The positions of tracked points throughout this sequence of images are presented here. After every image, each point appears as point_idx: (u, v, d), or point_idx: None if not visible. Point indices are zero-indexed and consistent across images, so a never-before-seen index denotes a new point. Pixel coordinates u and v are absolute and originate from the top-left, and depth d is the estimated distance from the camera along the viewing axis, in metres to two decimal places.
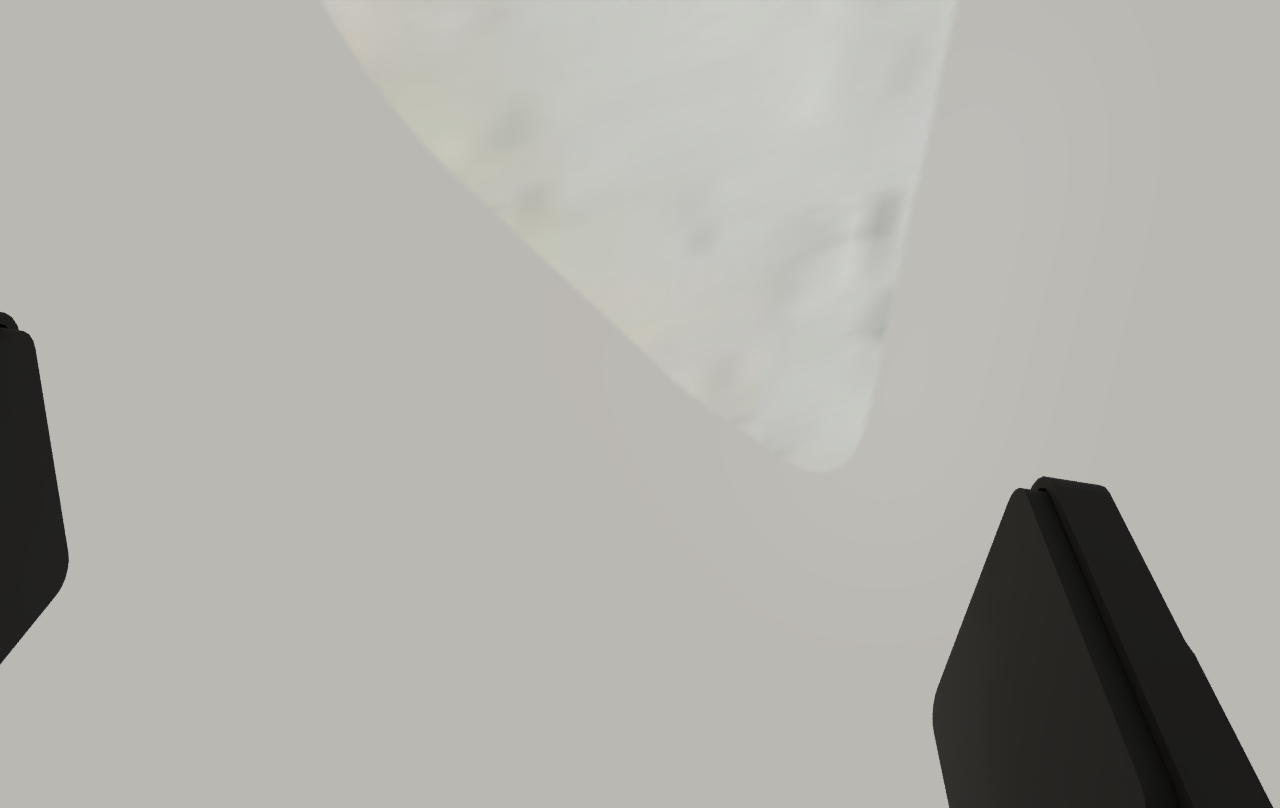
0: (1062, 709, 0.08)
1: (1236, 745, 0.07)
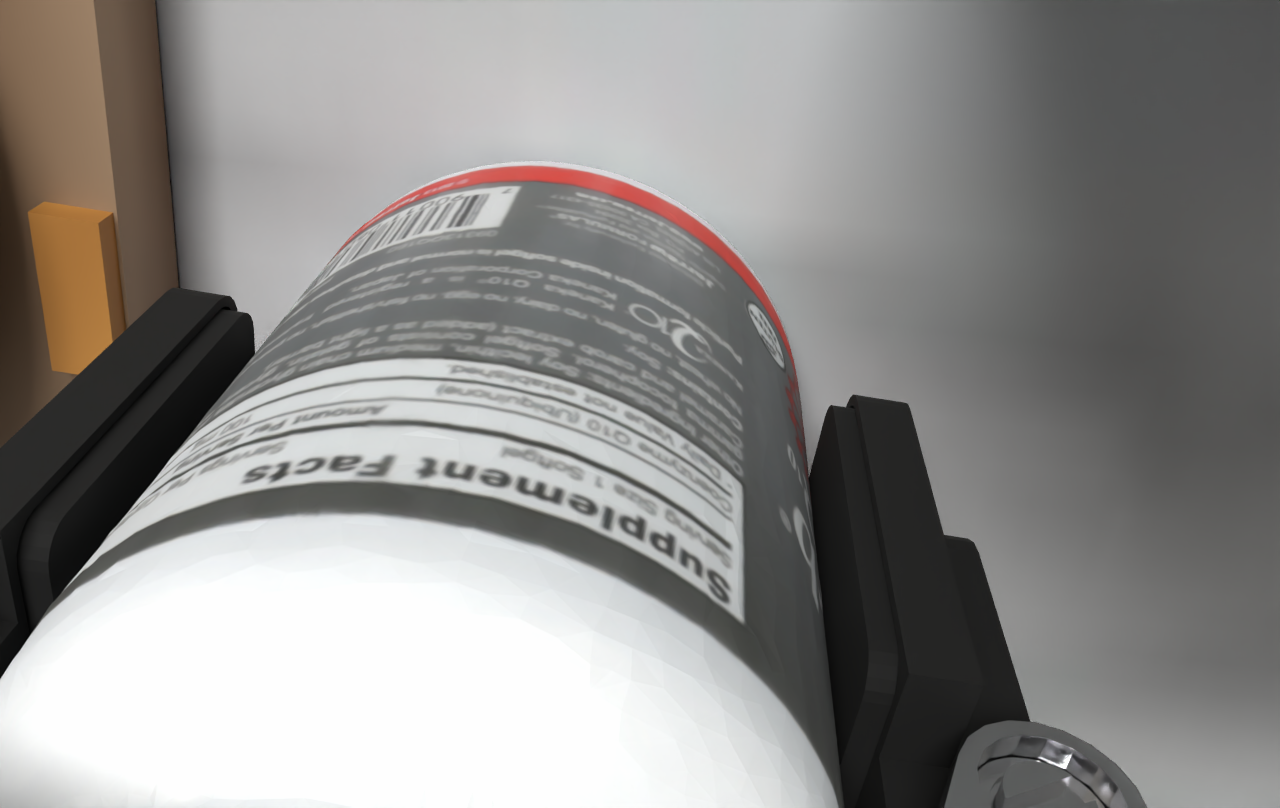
0: (836, 592, 0.09)
1: (960, 608, 0.08)
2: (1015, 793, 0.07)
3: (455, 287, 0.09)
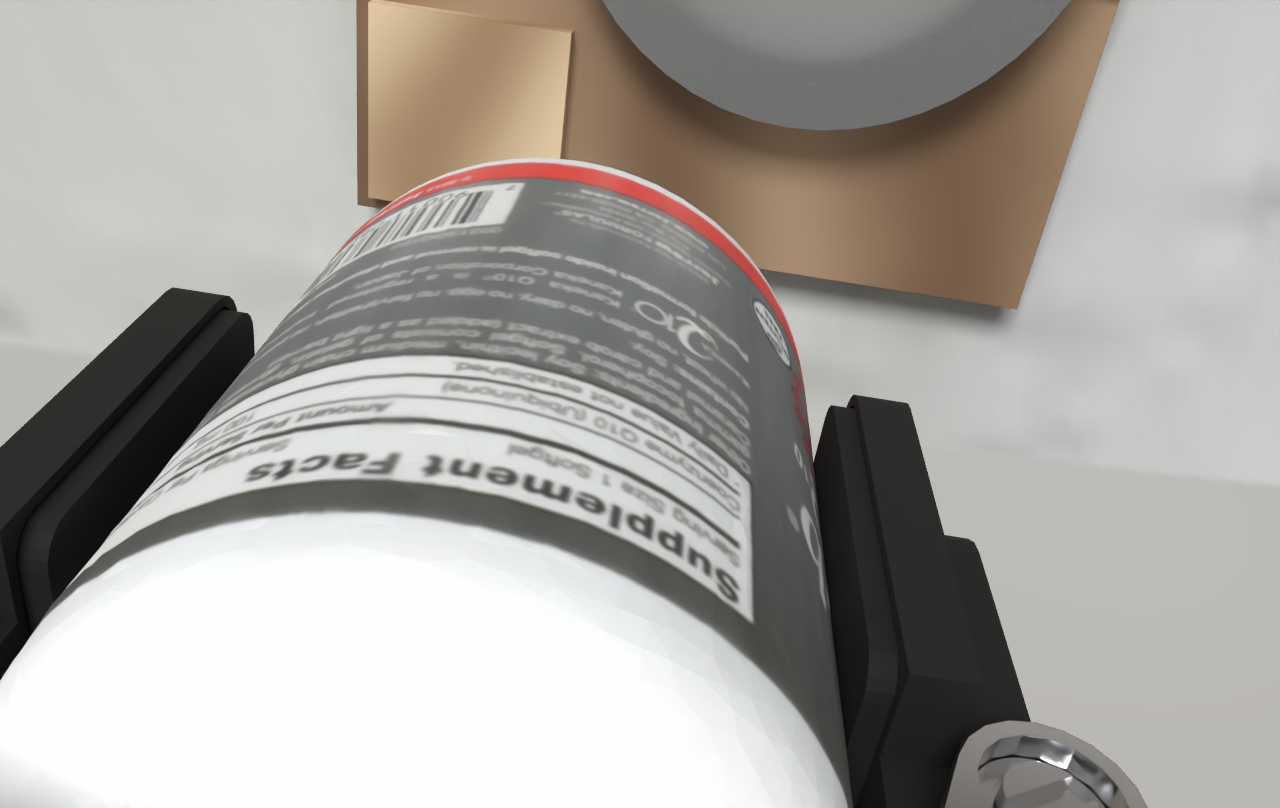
0: (836, 592, 0.09)
1: (961, 608, 0.08)
2: (1015, 793, 0.07)
3: (459, 282, 0.09)
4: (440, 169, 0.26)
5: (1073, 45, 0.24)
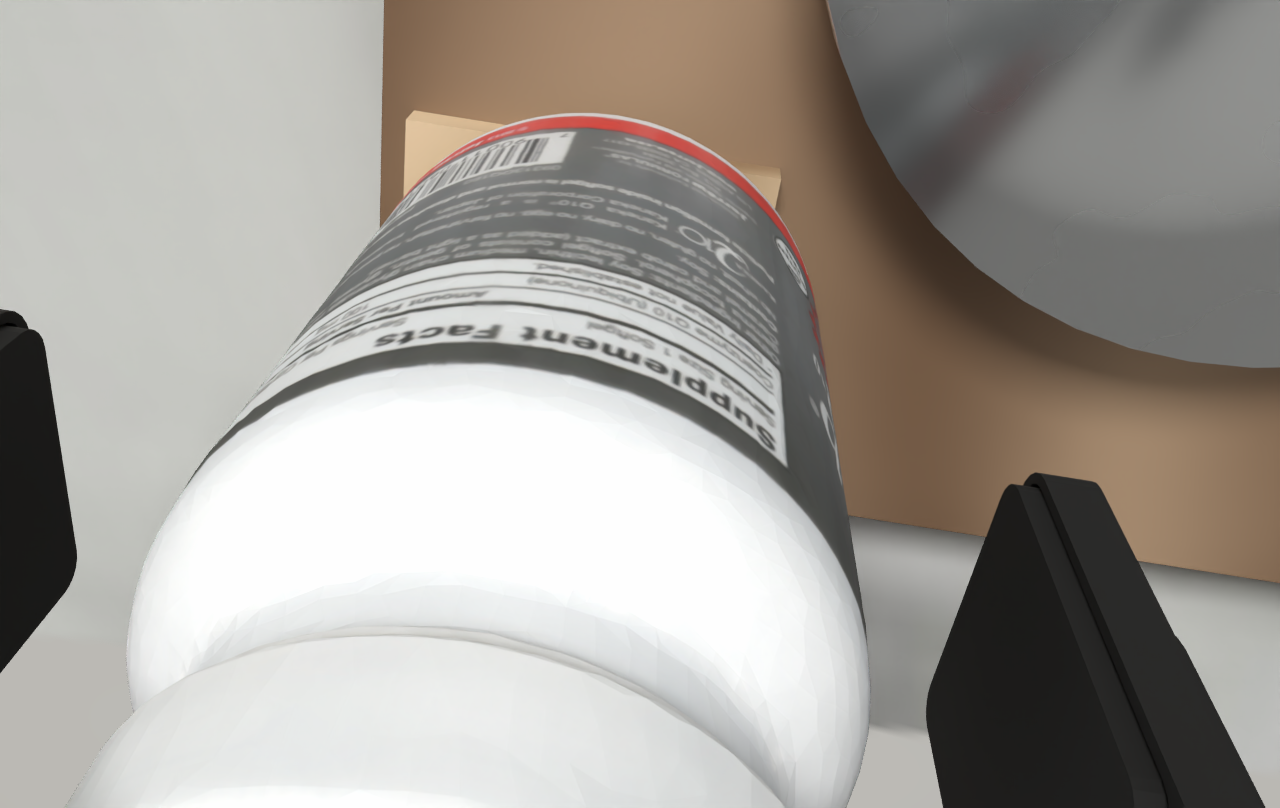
0: (1052, 703, 0.08)
1: (1224, 738, 0.07)
2: None
3: (530, 207, 0.10)
4: None
5: None
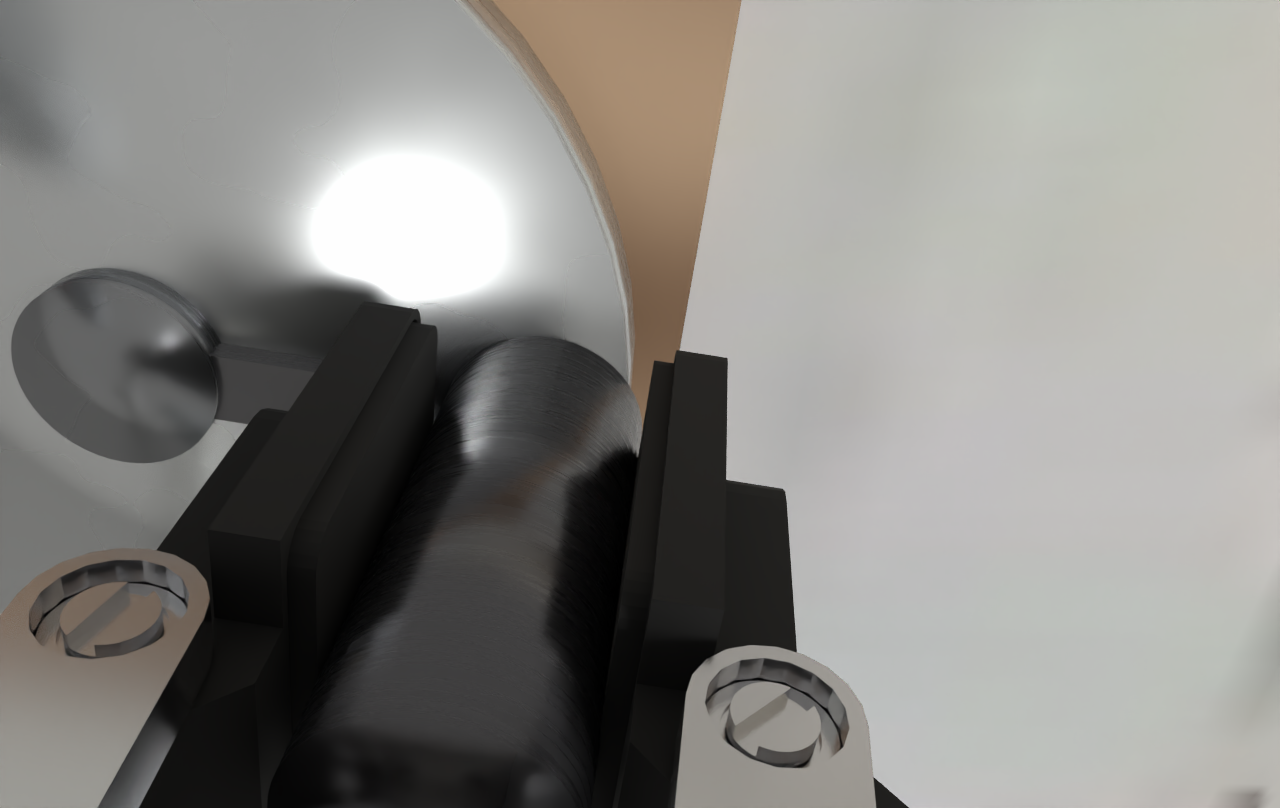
0: (629, 533, 0.09)
1: (721, 541, 0.08)
2: (742, 710, 0.07)
3: None
4: None
5: None
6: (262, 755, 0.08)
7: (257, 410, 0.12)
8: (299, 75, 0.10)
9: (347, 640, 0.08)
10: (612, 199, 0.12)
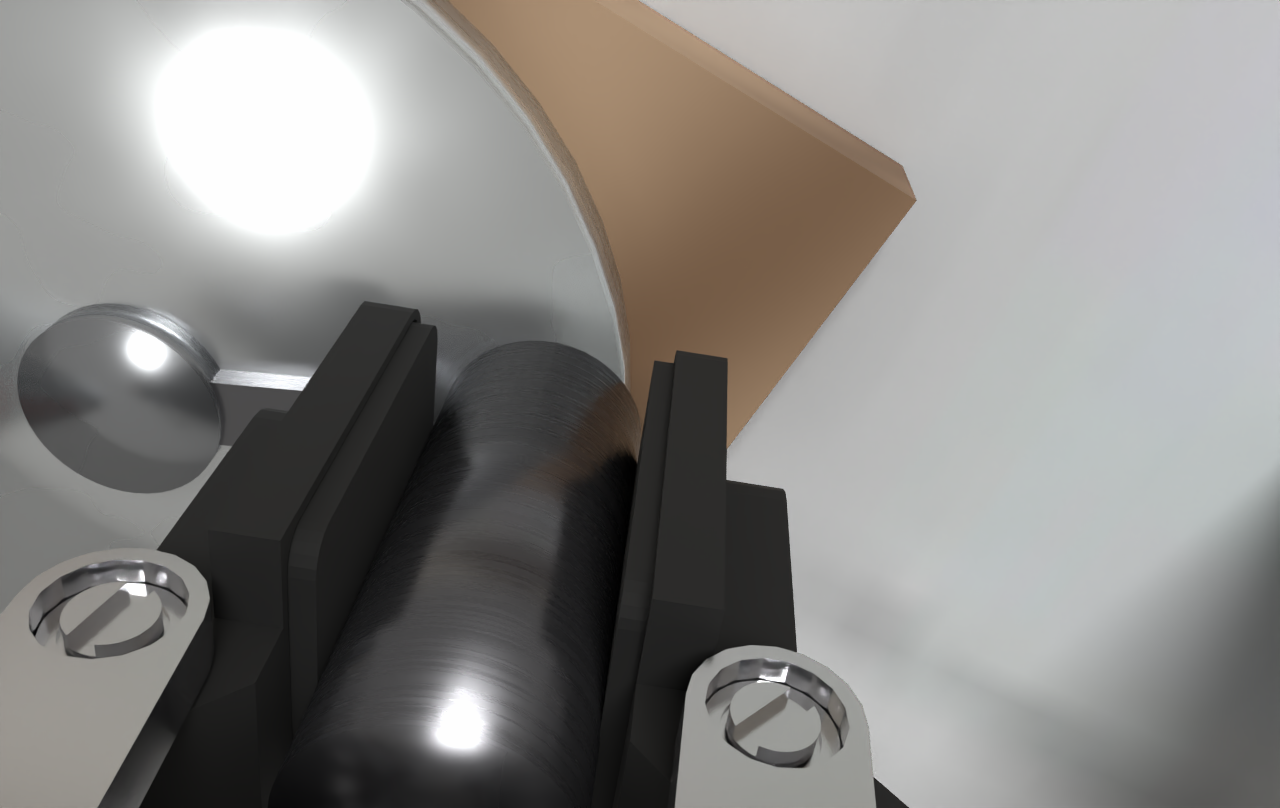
0: (629, 534, 0.09)
1: (721, 541, 0.08)
2: (743, 711, 0.07)
3: None
4: None
5: None
6: (262, 755, 0.08)
7: None
8: (273, 99, 0.11)
9: (340, 653, 0.08)
10: None
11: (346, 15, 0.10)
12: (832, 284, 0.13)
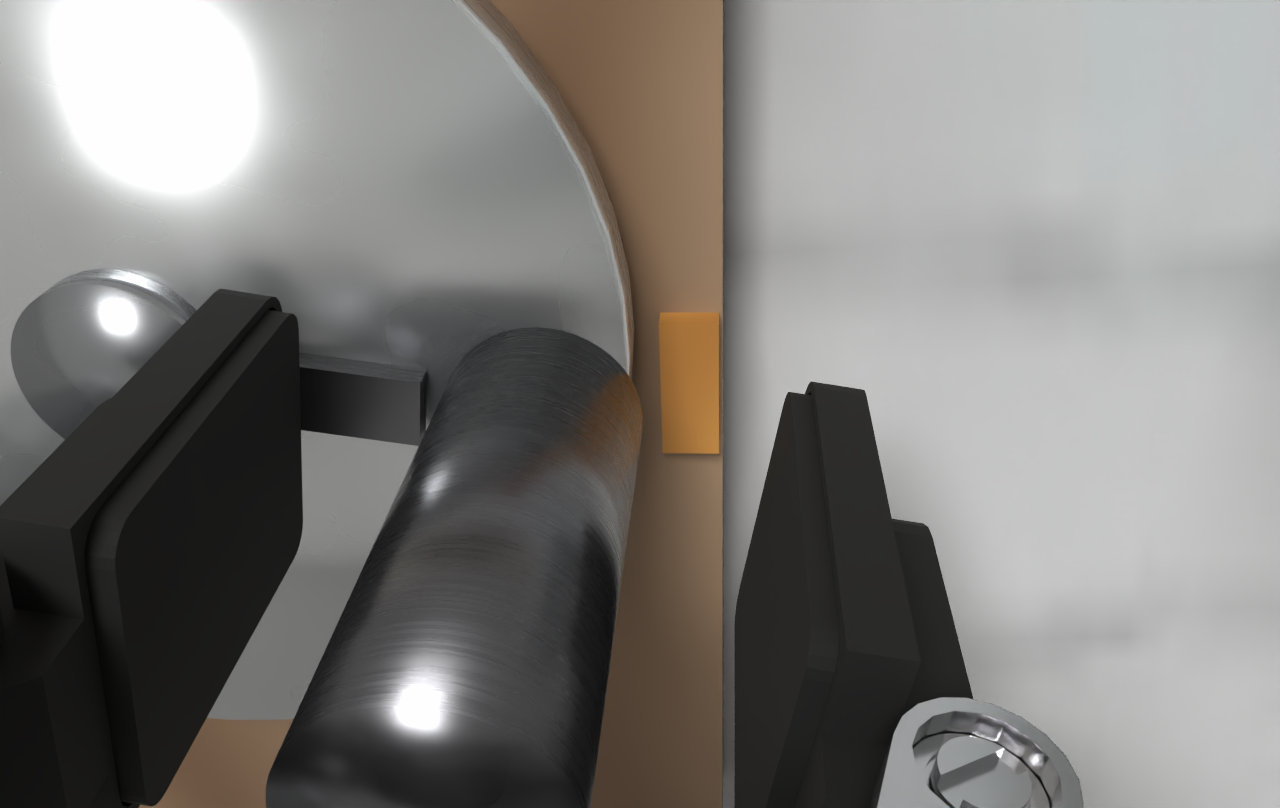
0: (786, 574, 0.09)
1: (903, 587, 0.08)
2: (949, 767, 0.07)
3: None
4: None
5: (674, 520, 0.15)
6: (63, 749, 0.08)
7: None
8: (289, 69, 0.10)
9: (342, 632, 0.08)
10: None
11: None
12: None
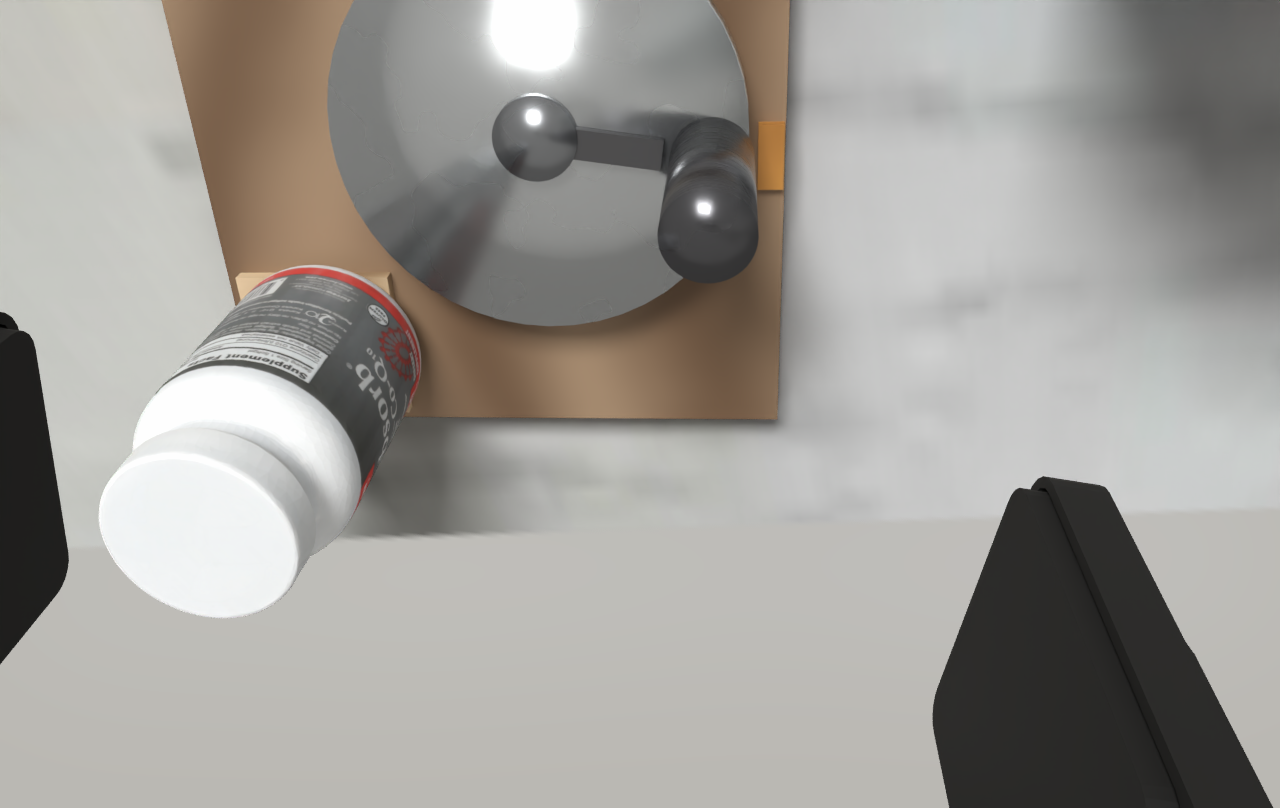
0: (1062, 709, 0.08)
1: (1236, 745, 0.07)
2: None
3: (252, 313, 0.29)
4: None
5: (760, 228, 0.31)
6: None
7: (591, 154, 0.29)
8: (624, 8, 0.27)
9: (675, 186, 0.25)
10: None
11: None
12: None
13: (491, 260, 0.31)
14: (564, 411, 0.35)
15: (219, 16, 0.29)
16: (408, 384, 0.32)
